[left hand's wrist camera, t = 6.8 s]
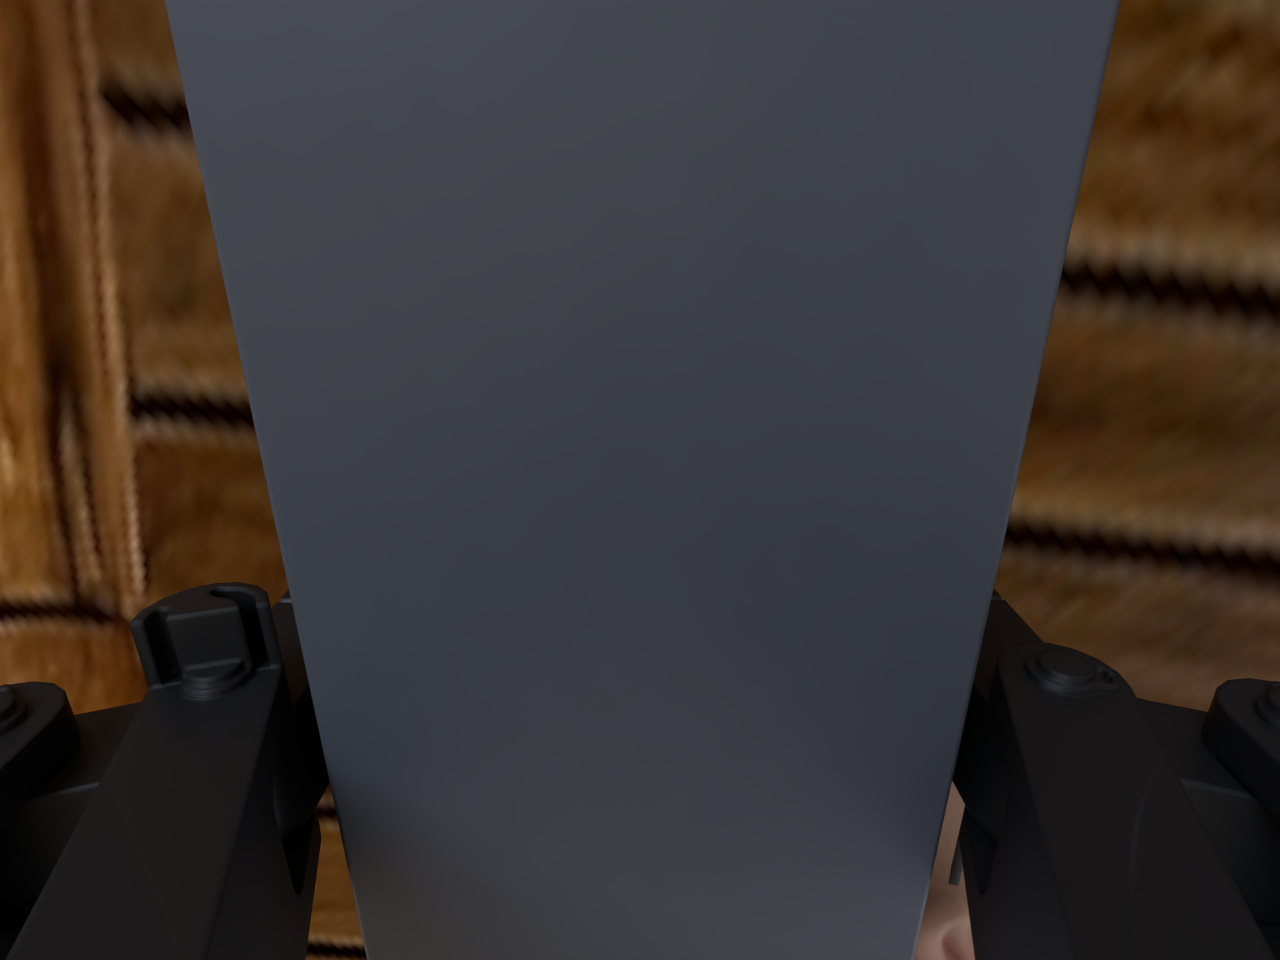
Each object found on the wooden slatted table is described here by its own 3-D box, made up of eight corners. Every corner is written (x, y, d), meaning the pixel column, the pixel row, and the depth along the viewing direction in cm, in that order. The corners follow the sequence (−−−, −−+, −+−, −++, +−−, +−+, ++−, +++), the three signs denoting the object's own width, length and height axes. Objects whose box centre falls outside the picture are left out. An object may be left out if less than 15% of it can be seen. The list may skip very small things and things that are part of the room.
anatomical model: (856, 868, 25) (1192, 774, 23) (826, 781, 28) (1114, 696, 27) (936, 1082, 29) (1220, 1014, 28) (901, 983, 33) (1151, 919, 31)
